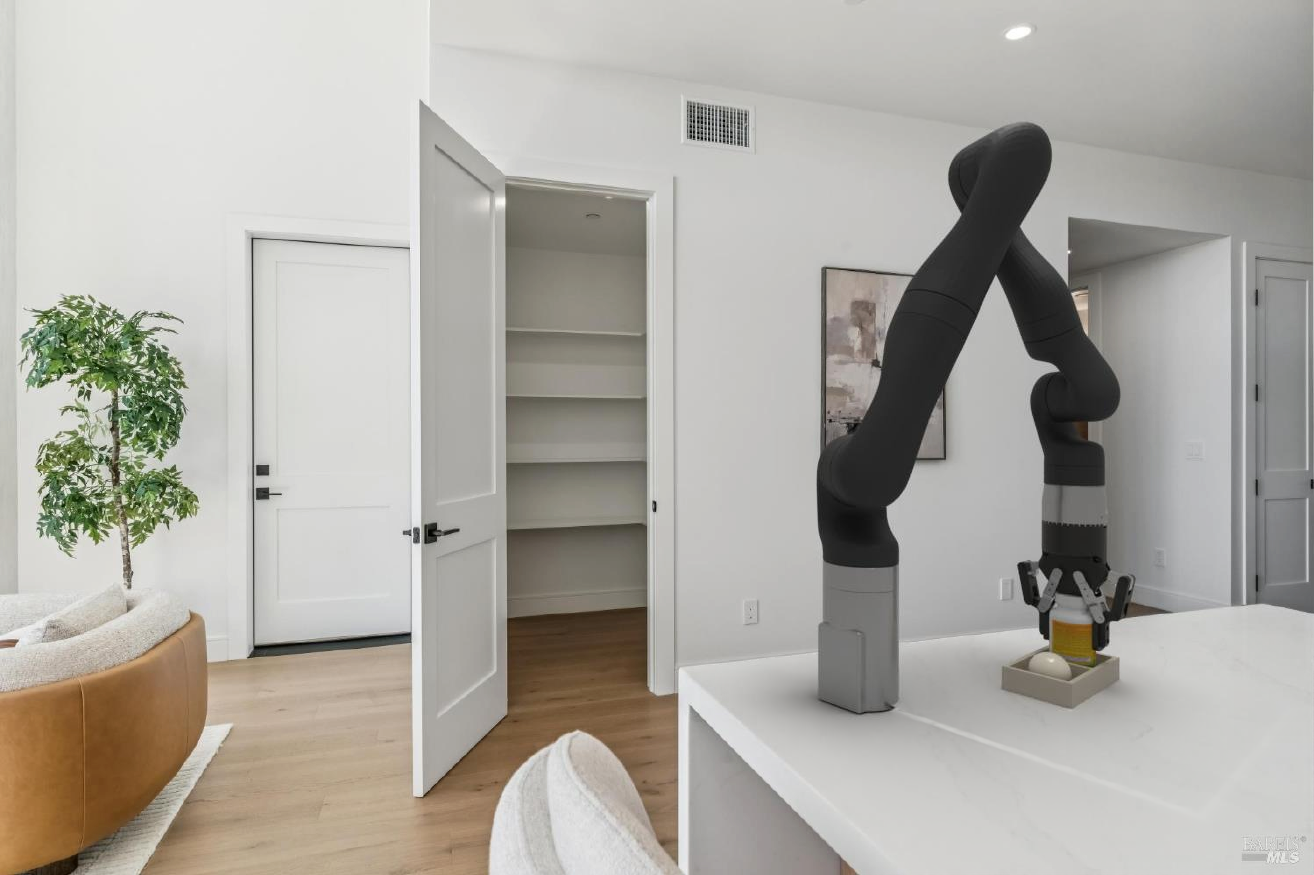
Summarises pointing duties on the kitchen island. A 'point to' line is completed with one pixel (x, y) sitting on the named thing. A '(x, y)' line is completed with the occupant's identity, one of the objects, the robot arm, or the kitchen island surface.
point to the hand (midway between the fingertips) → (1073, 643)
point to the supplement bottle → (1072, 630)
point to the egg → (1050, 666)
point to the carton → (1057, 690)
